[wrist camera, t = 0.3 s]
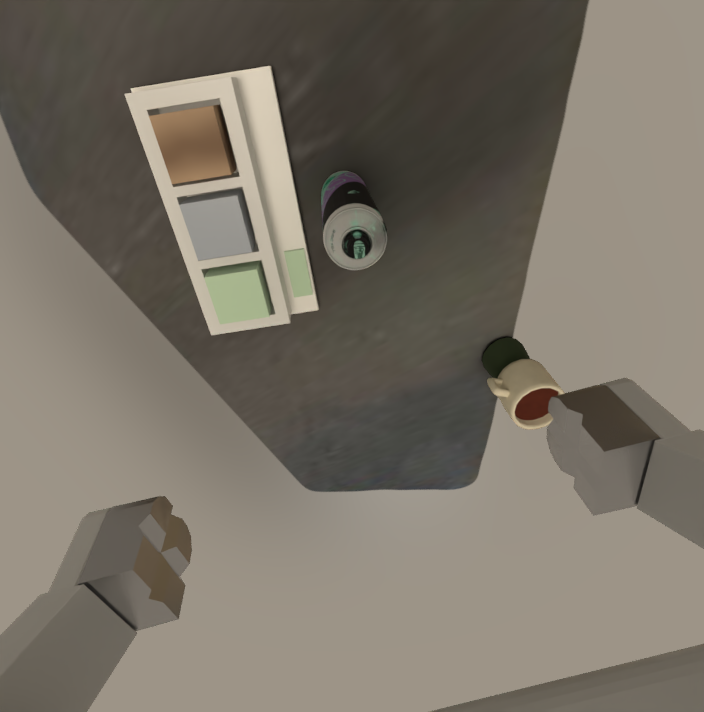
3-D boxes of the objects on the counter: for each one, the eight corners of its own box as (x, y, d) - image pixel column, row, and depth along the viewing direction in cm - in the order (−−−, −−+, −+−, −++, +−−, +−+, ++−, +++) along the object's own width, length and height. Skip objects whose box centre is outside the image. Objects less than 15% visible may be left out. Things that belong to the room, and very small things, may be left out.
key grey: (187, 197, 47) (178, 204, 44) (241, 188, 47) (236, 195, 44) (205, 250, 50) (198, 260, 47) (255, 242, 50) (252, 252, 47)
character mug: (459, 367, 65) (488, 424, 54) (476, 326, 62) (511, 378, 51) (523, 378, 67) (564, 435, 56) (544, 339, 64) (592, 392, 53)
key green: (210, 266, 51) (204, 277, 48) (260, 258, 51) (256, 269, 48) (225, 311, 54) (220, 324, 51) (272, 304, 54) (269, 316, 51)
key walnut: (160, 113, 43) (148, 116, 40) (219, 104, 43) (212, 105, 40) (181, 177, 46) (172, 184, 43) (236, 169, 46) (231, 174, 43)
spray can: (349, 160, 49) (367, 198, 32) (376, 200, 51) (405, 256, 35) (311, 189, 50) (309, 242, 33) (339, 227, 53) (350, 294, 36)
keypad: (136, 88, 44) (116, 88, 40) (271, 66, 44) (266, 64, 40) (216, 320, 58) (208, 339, 54) (318, 305, 58) (318, 322, 54)
